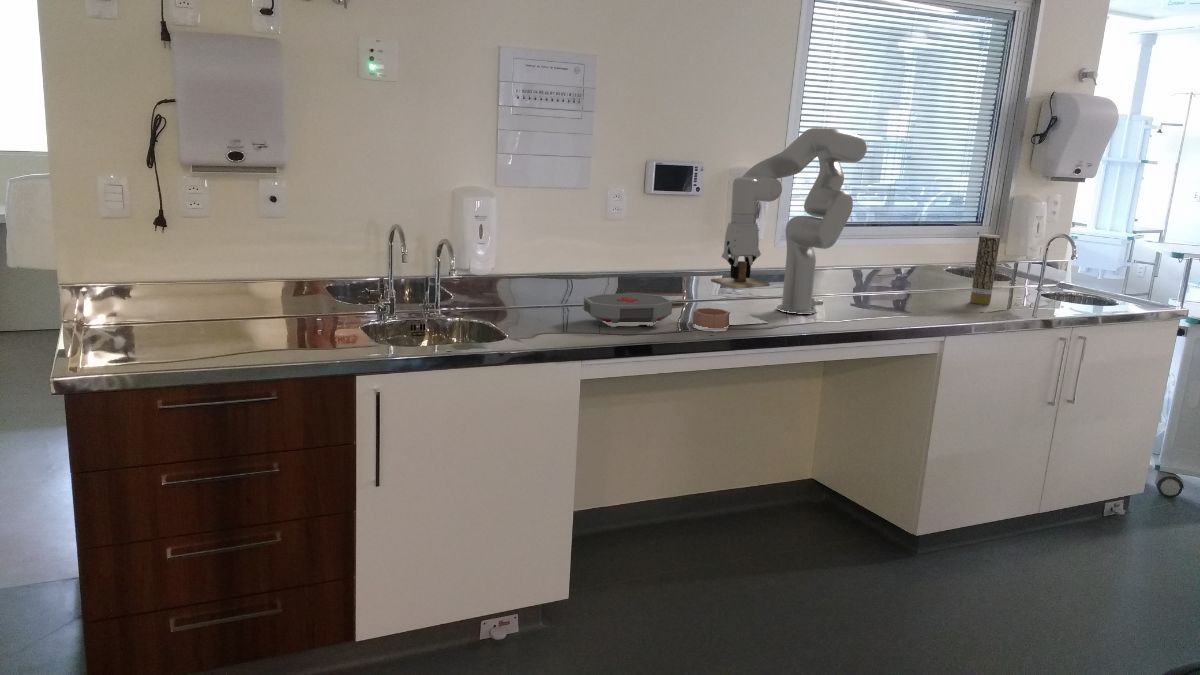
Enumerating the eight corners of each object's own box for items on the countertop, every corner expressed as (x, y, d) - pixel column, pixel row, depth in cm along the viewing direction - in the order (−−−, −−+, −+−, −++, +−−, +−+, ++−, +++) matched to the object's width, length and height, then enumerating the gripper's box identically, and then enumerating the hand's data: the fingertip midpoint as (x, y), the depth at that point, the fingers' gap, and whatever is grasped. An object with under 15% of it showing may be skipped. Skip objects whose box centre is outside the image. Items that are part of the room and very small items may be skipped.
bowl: (715, 323, 263) (716, 307, 262) (733, 330, 254) (735, 314, 253) (687, 325, 259) (688, 309, 258) (704, 332, 250) (706, 316, 249)
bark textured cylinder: (993, 305, 311) (1003, 236, 305) (974, 304, 311) (984, 236, 305) (985, 302, 318) (995, 234, 312) (967, 301, 318) (976, 233, 312)
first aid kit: (594, 331, 246) (676, 329, 253) (595, 306, 245) (677, 304, 252) (579, 318, 263) (656, 316, 270) (580, 294, 261) (657, 293, 268)
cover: (745, 278, 276) (746, 257, 274) (769, 286, 264) (770, 264, 262) (710, 281, 270) (711, 260, 269) (733, 289, 259) (734, 266, 257)
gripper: (759, 216, 269) (755, 274, 273) (713, 218, 262) (710, 277, 267) (773, 219, 262) (769, 278, 267) (727, 221, 255) (724, 282, 260)
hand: (740, 277), depth 267 cm, fingers closed on cover, 3 cm apart
